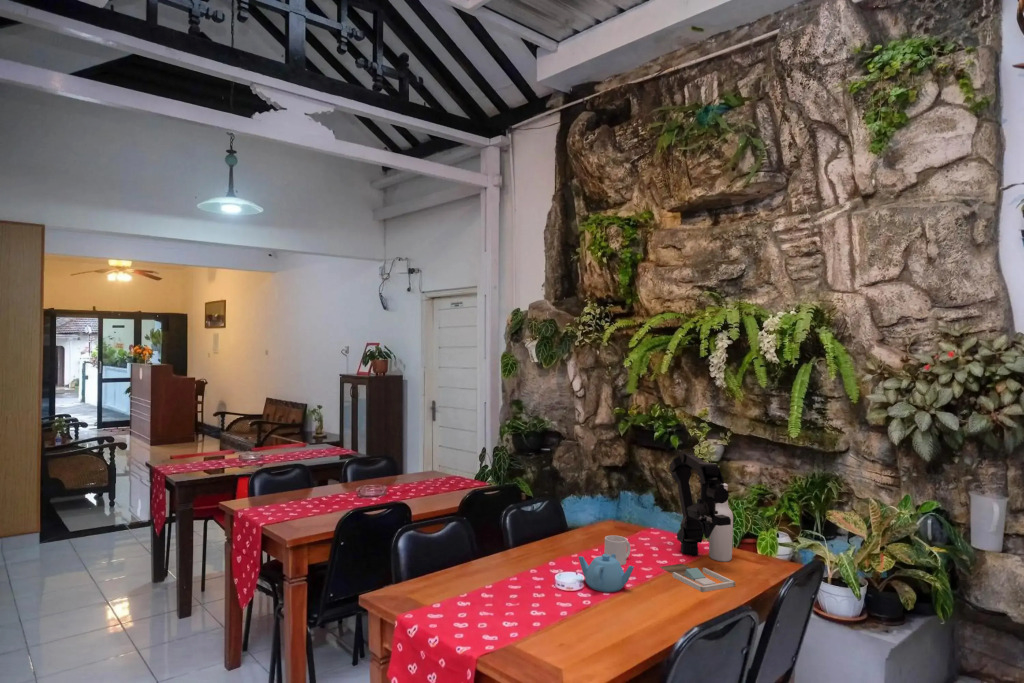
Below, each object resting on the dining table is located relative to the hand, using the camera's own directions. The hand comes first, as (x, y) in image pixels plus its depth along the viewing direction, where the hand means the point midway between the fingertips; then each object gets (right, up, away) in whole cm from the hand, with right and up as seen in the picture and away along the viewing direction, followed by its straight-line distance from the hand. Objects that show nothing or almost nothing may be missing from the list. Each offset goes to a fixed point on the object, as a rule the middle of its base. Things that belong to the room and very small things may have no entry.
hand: (706, 537), depth 237 cm
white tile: (-6, -12, -18) cm, 23 cm away
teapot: (-42, -11, -20) cm, 48 cm away
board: (-12, -12, -6) cm, 18 cm away
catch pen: (-7, -12, -17) cm, 22 cm away
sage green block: (-9, -11, -13) cm, 19 cm away
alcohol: (+10, -13, +14) cm, 21 cm away
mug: (-33, -11, +2) cm, 35 cm away
